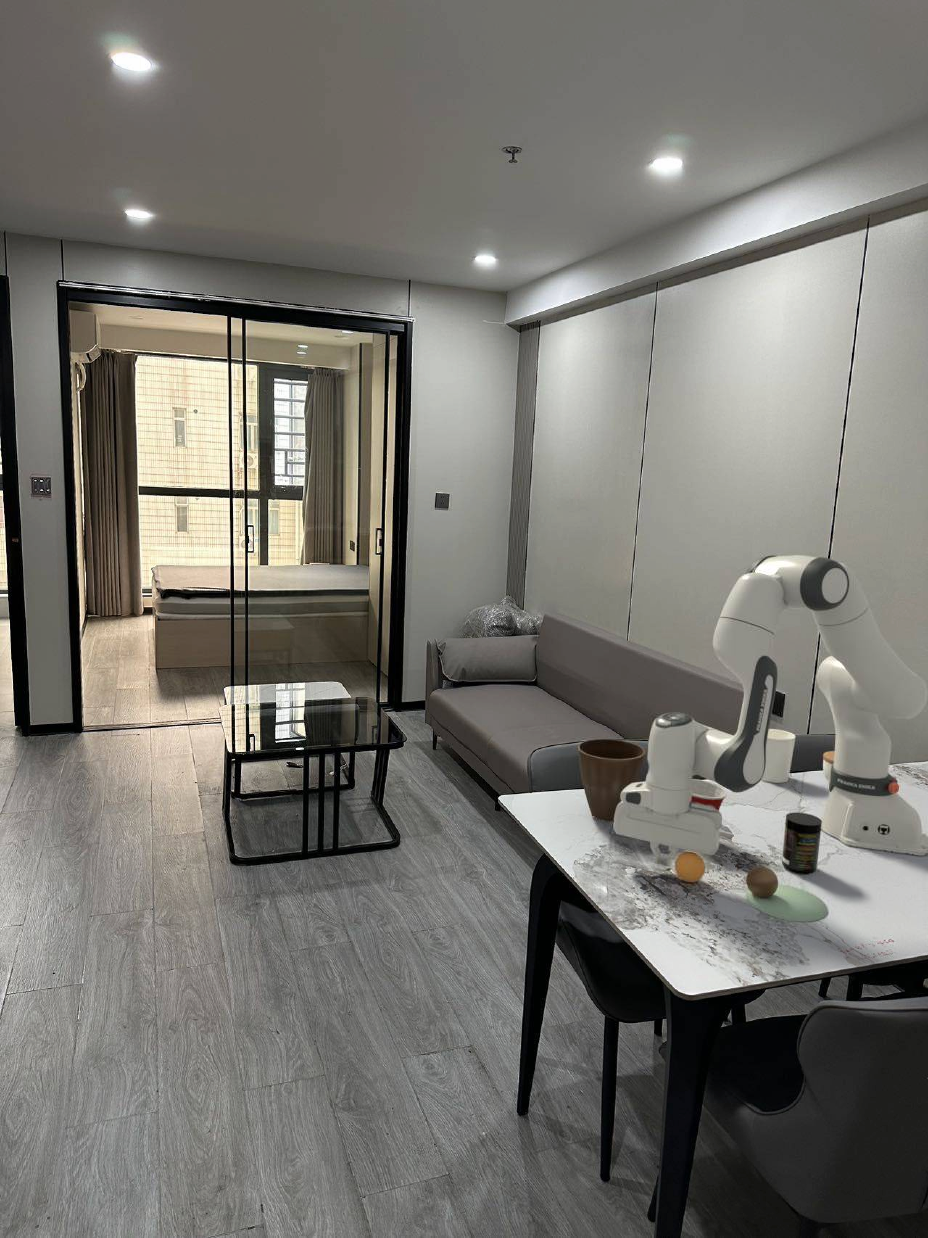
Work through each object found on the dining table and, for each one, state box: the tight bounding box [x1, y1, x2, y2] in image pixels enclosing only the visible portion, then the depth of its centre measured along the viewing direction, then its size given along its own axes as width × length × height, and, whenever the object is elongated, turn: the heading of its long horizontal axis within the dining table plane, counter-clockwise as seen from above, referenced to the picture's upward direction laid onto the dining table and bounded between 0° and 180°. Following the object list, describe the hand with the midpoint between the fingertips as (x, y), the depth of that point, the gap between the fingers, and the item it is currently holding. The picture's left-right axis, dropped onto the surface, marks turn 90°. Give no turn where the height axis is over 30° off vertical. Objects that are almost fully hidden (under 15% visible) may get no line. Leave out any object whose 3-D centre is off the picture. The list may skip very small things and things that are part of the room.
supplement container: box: [781, 812, 822, 875], centre depth 171 cm, size 7×7×10 cm
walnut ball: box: [745, 865, 779, 898], centre depth 159 cm, size 6×6×6 cm
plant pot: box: [577, 738, 646, 822], centre depth 194 cm, size 15×15×16 cm
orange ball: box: [674, 851, 706, 883], centre depth 164 cm, size 6×6×6 cm
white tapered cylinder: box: [760, 728, 796, 784], centre depth 225 cm, size 10×10×12 cm
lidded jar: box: [822, 750, 835, 783], centre depth 221 cm, size 11×11×9 cm
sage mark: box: [745, 883, 828, 923], centre depth 157 cm, size 14×14×1 cm
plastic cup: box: [691, 778, 728, 812], centre depth 183 cm, size 11×11×12 cm
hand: (663, 864), depth 167 cm, fingers closed
